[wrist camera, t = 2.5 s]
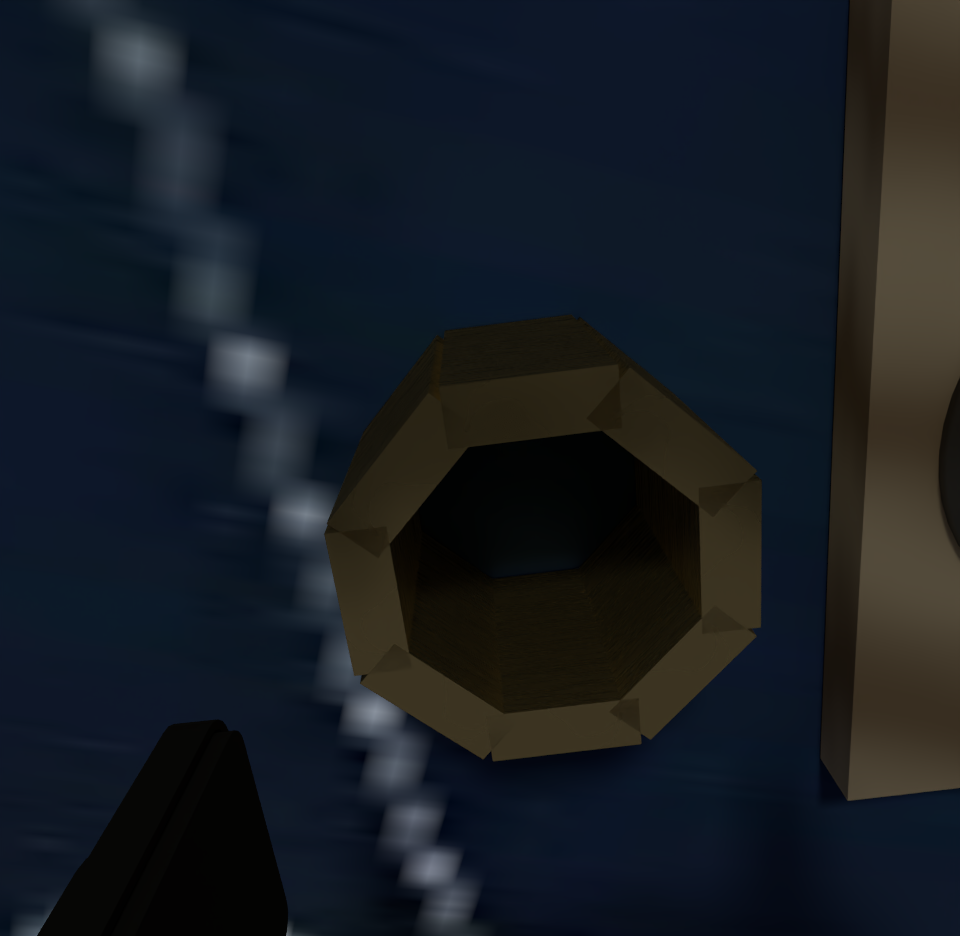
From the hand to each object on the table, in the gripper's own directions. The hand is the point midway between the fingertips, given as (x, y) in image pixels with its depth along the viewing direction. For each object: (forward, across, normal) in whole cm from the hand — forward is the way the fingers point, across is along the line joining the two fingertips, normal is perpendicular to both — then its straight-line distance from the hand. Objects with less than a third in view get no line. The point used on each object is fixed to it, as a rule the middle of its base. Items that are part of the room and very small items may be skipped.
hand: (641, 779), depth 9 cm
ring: (+9, +1, -1) cm, 9 cm away
